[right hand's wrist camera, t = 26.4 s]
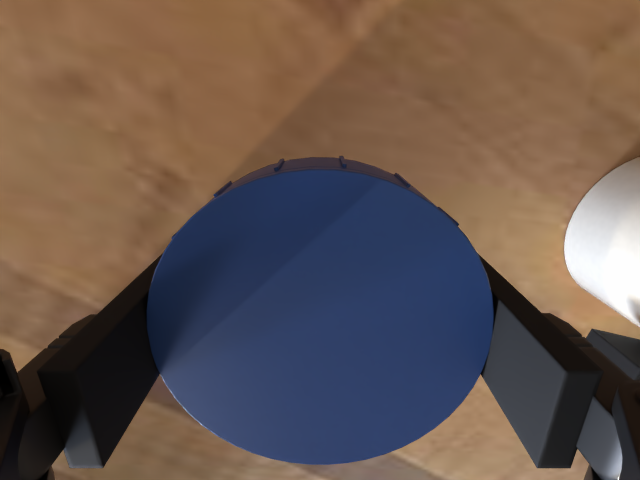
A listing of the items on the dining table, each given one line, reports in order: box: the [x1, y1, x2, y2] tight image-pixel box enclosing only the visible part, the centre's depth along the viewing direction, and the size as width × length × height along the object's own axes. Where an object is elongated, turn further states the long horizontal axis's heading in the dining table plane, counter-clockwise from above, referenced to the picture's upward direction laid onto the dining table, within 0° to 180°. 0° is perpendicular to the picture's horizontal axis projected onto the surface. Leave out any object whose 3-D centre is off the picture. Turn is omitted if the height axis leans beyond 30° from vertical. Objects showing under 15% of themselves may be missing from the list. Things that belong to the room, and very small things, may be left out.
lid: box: [146, 156, 494, 465], centre depth 11 cm, size 10×10×2 cm
